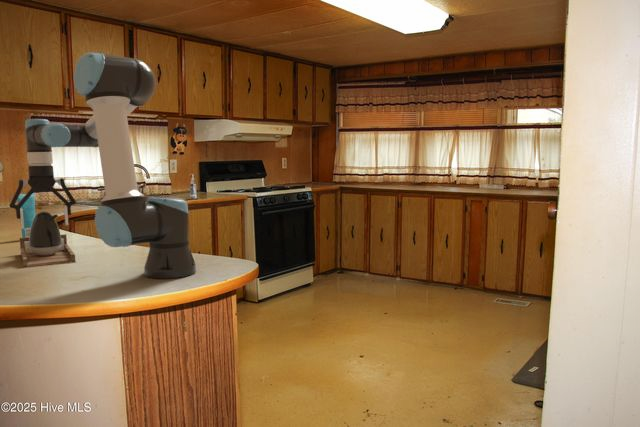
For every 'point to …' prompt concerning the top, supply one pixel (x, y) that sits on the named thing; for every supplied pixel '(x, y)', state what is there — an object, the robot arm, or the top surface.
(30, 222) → the tube
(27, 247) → the pusher
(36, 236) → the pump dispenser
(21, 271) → the top surface
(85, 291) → the top surface
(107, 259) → the top surface
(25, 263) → the brown wooden tray
